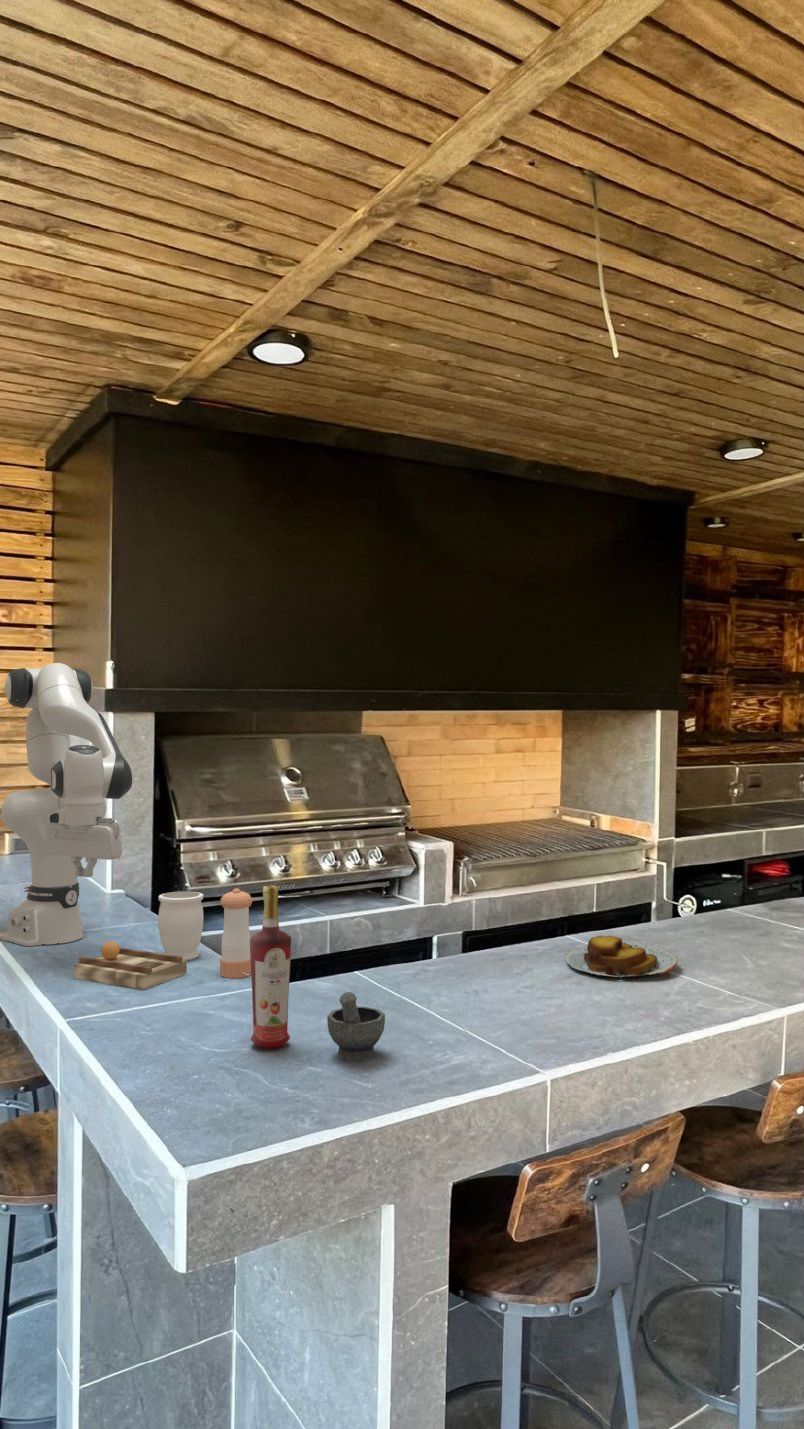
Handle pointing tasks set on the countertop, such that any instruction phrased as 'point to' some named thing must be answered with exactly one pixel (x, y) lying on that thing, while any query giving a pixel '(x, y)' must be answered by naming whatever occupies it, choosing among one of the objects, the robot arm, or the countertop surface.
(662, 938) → the countertop surface
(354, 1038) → the mortar and pestle
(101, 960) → the lane board
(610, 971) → the food on plate
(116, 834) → the robot arm
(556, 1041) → the countertop surface
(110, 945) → the ball
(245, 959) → the pepper shaker
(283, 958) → the liquor
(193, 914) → the jar
